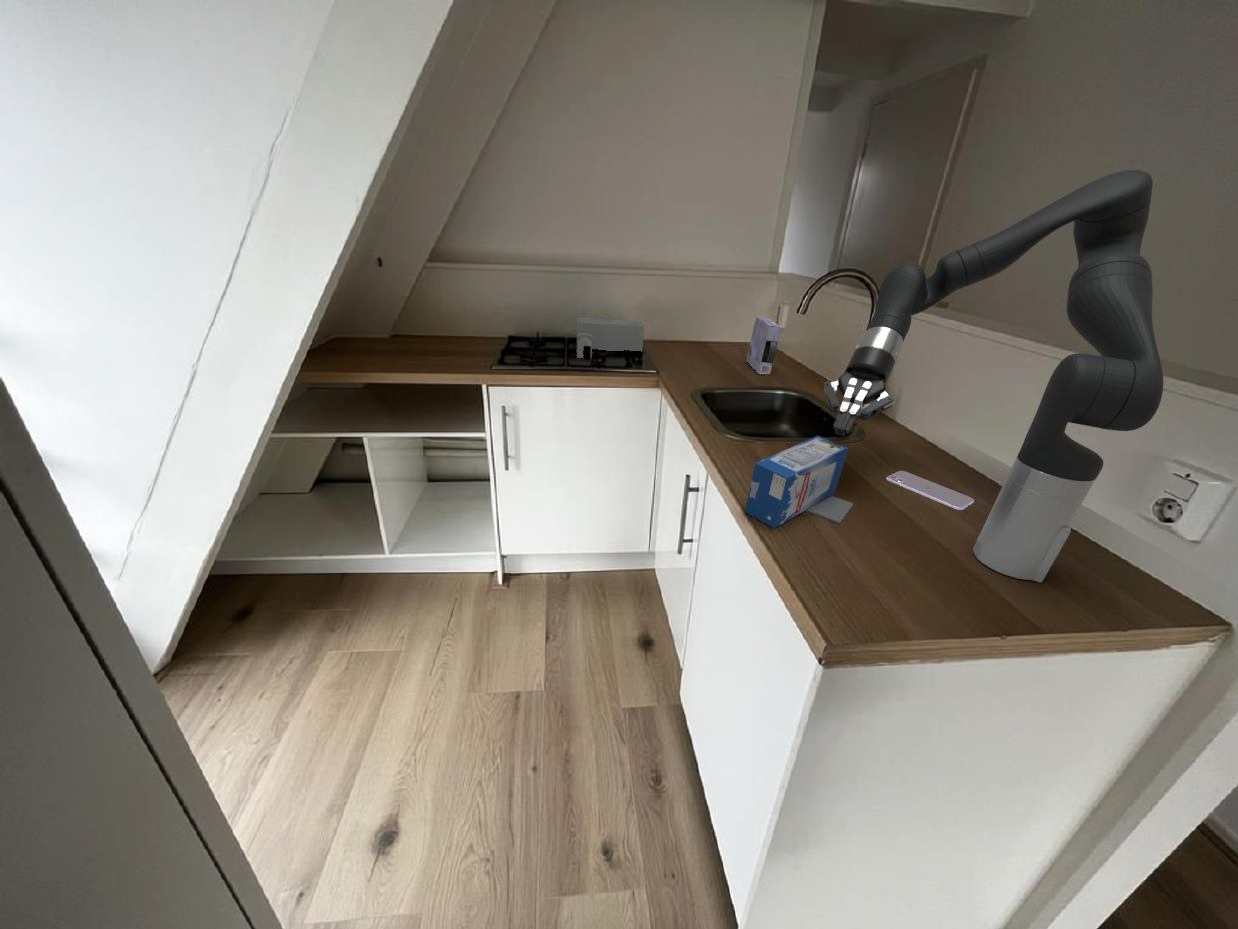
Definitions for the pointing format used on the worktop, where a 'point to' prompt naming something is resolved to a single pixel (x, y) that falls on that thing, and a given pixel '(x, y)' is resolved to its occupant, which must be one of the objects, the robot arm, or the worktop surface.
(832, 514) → the mat
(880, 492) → the worktop surface
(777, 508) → the milk carton
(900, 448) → the worktop surface
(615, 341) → the grey toy box truck
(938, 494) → the mobile phone
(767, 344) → the cake pan box
